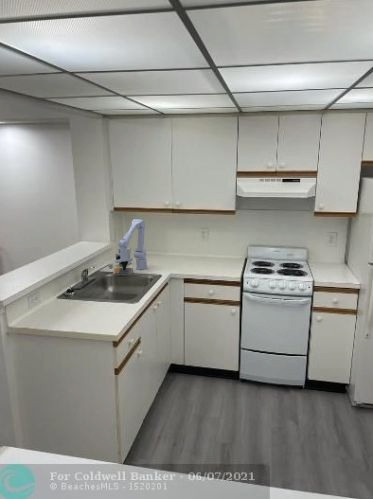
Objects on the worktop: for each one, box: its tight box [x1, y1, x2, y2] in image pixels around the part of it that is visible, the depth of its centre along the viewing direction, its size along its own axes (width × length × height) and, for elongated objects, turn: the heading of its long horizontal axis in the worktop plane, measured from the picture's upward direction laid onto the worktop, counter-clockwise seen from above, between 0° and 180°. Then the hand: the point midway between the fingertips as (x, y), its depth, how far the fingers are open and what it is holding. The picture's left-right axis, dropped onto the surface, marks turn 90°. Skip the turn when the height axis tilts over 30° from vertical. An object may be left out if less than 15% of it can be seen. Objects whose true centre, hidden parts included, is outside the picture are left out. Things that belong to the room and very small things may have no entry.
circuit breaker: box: [115, 247, 132, 266], centre depth 325 cm, size 8×14×15 cm, turn 152°
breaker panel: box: [112, 264, 134, 277], centre depth 303 cm, size 16×18×4 cm
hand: (124, 270), depth 297 cm, fingers closed
